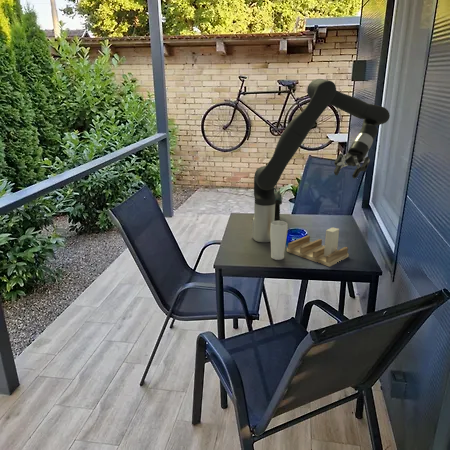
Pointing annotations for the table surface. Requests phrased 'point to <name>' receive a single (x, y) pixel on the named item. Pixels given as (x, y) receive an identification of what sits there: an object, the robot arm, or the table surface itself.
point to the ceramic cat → (277, 204)
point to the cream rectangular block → (331, 241)
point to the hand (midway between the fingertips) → (344, 175)
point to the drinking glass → (278, 239)
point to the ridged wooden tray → (315, 251)
